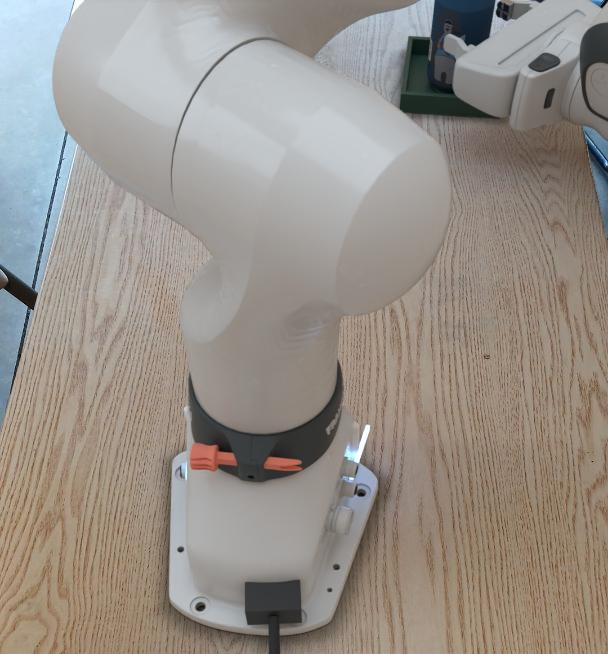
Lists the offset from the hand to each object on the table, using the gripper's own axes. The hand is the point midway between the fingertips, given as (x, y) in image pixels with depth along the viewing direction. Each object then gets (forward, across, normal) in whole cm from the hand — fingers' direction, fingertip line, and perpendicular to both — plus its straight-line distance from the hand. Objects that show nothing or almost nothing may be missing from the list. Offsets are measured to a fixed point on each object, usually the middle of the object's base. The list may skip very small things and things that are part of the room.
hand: (474, 22), depth 96 cm
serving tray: (+2, 0, +8) cm, 9 cm away
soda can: (+2, 0, +8) cm, 8 cm away
